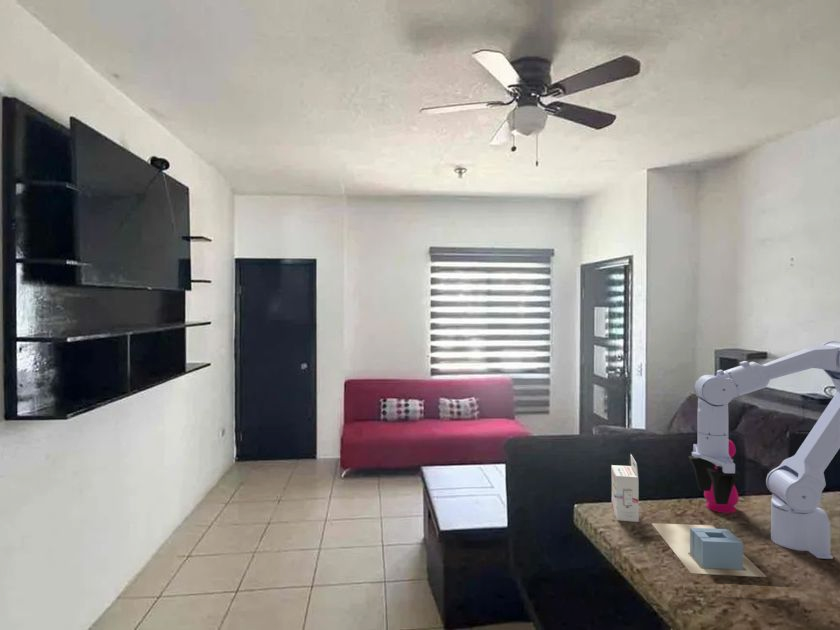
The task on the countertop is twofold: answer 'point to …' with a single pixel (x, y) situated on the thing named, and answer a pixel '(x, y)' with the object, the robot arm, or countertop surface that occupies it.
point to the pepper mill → (733, 496)
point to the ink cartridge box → (625, 491)
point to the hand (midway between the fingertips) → (712, 496)
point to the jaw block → (716, 548)
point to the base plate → (680, 544)
